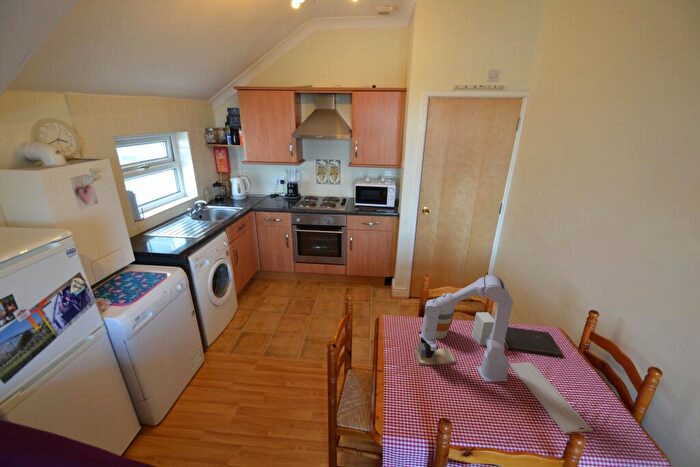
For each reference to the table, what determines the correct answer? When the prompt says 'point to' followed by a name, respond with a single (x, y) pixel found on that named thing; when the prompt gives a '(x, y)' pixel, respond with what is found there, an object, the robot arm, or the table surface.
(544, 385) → the baseboard molding
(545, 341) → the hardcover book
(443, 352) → the pine board
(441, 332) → the reusable coffee cup
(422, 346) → the block
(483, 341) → the small box
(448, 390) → the table surface
